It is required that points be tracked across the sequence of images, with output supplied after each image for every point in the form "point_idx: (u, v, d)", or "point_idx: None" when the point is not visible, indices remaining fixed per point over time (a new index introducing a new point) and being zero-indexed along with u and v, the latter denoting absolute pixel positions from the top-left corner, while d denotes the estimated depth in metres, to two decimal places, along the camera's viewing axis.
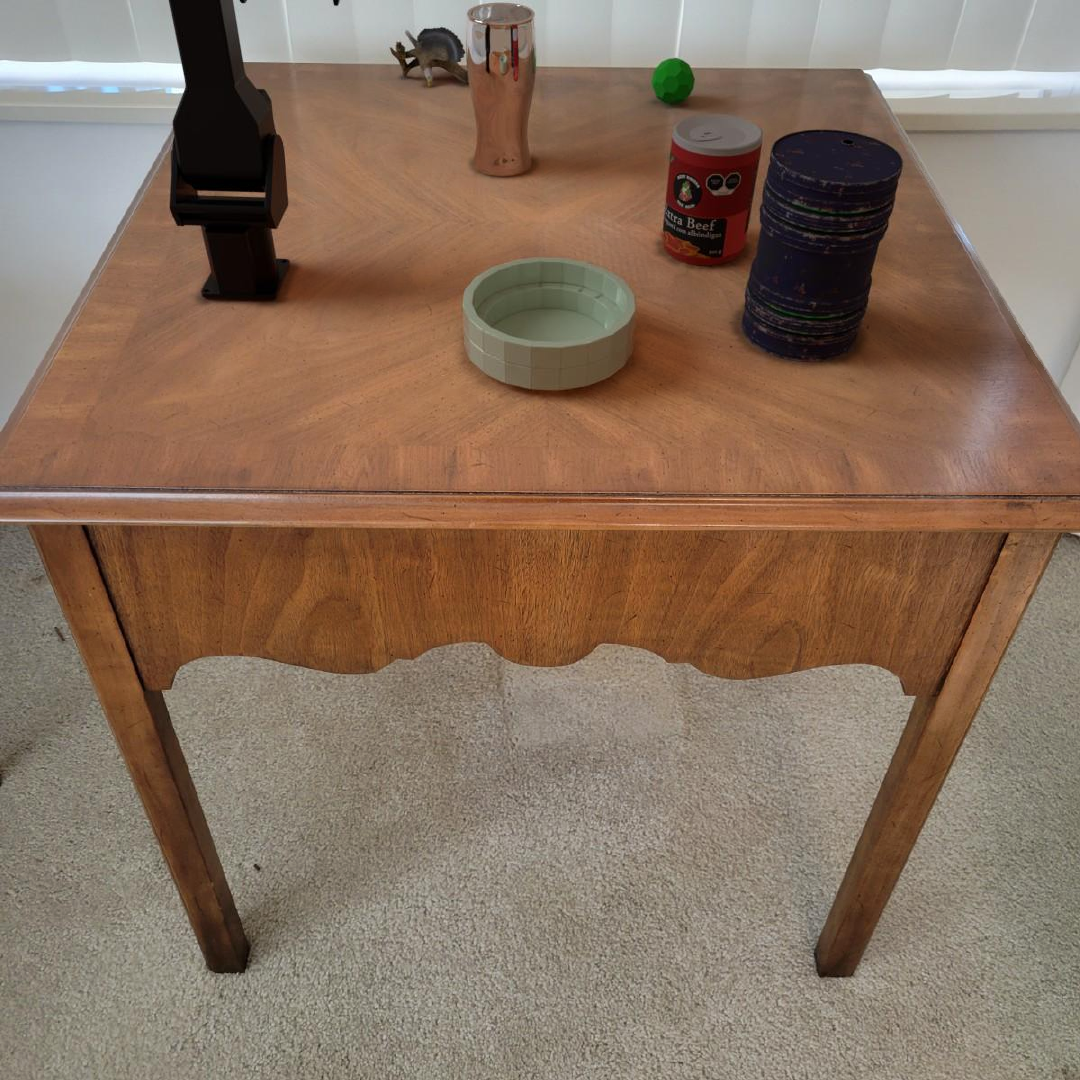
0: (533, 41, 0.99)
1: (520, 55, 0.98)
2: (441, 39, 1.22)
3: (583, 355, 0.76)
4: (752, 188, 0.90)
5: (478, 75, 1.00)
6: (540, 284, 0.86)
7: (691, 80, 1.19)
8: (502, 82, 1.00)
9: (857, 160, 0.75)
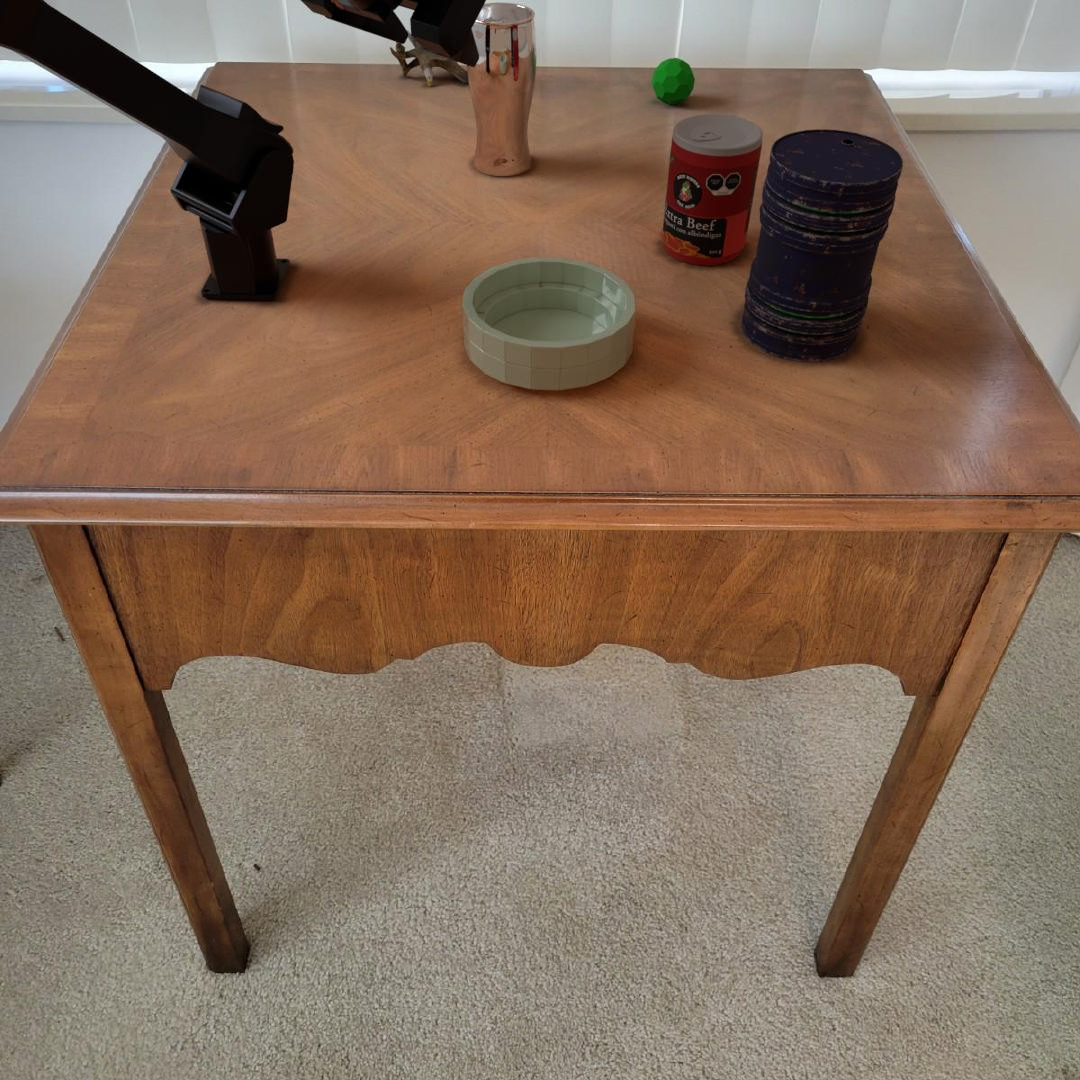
0: (533, 41, 0.99)
1: (520, 55, 0.98)
2: None
3: (583, 355, 0.76)
4: (752, 188, 0.90)
5: (478, 75, 1.00)
6: (540, 284, 0.86)
7: (691, 80, 1.19)
8: (502, 82, 1.00)
9: (857, 160, 0.75)
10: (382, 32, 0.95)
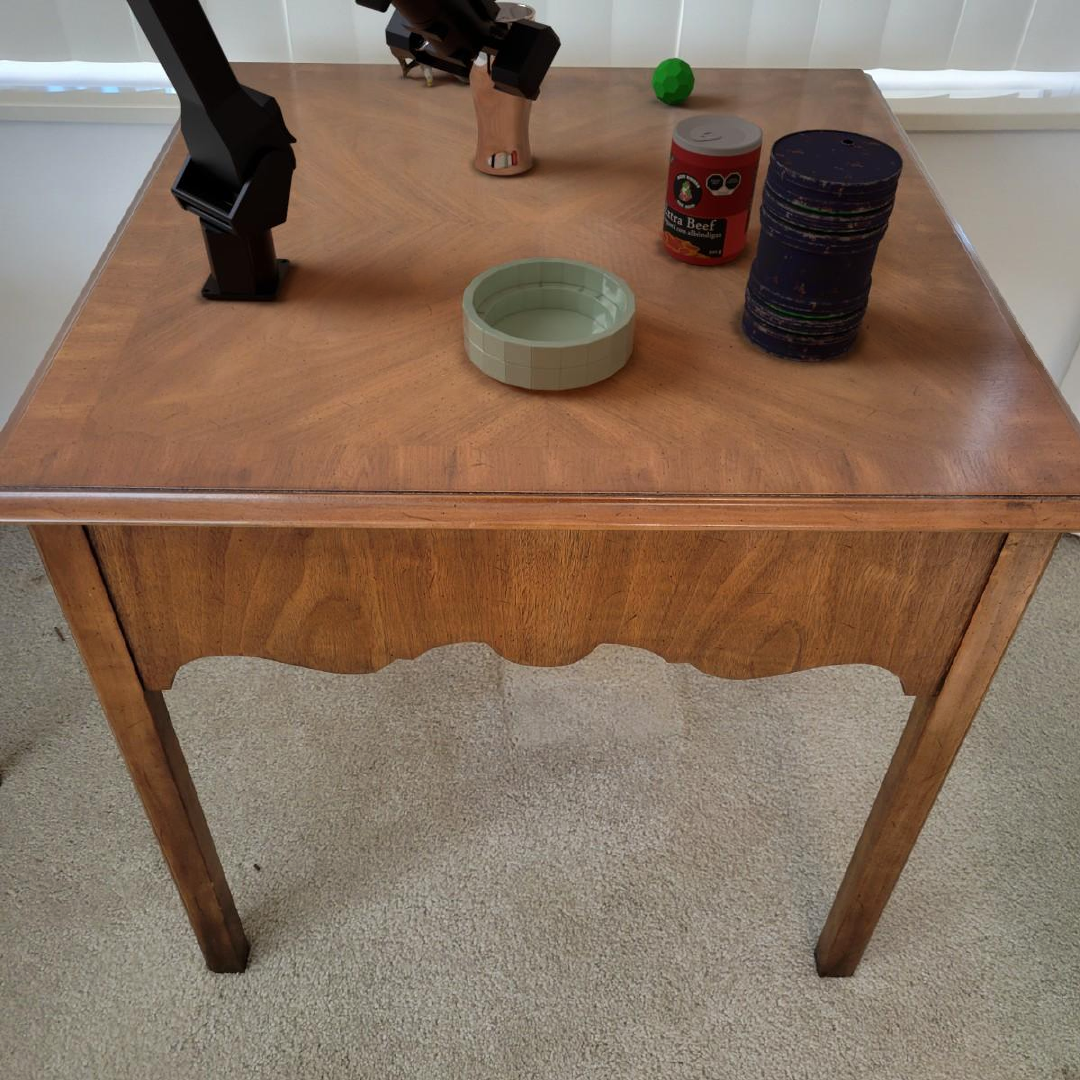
0: None
1: None
2: None
3: (583, 355, 0.76)
4: (752, 188, 0.90)
5: (479, 73, 1.00)
6: (540, 284, 0.86)
7: (691, 80, 1.19)
8: None
9: (857, 160, 0.75)
10: (466, 74, 1.03)
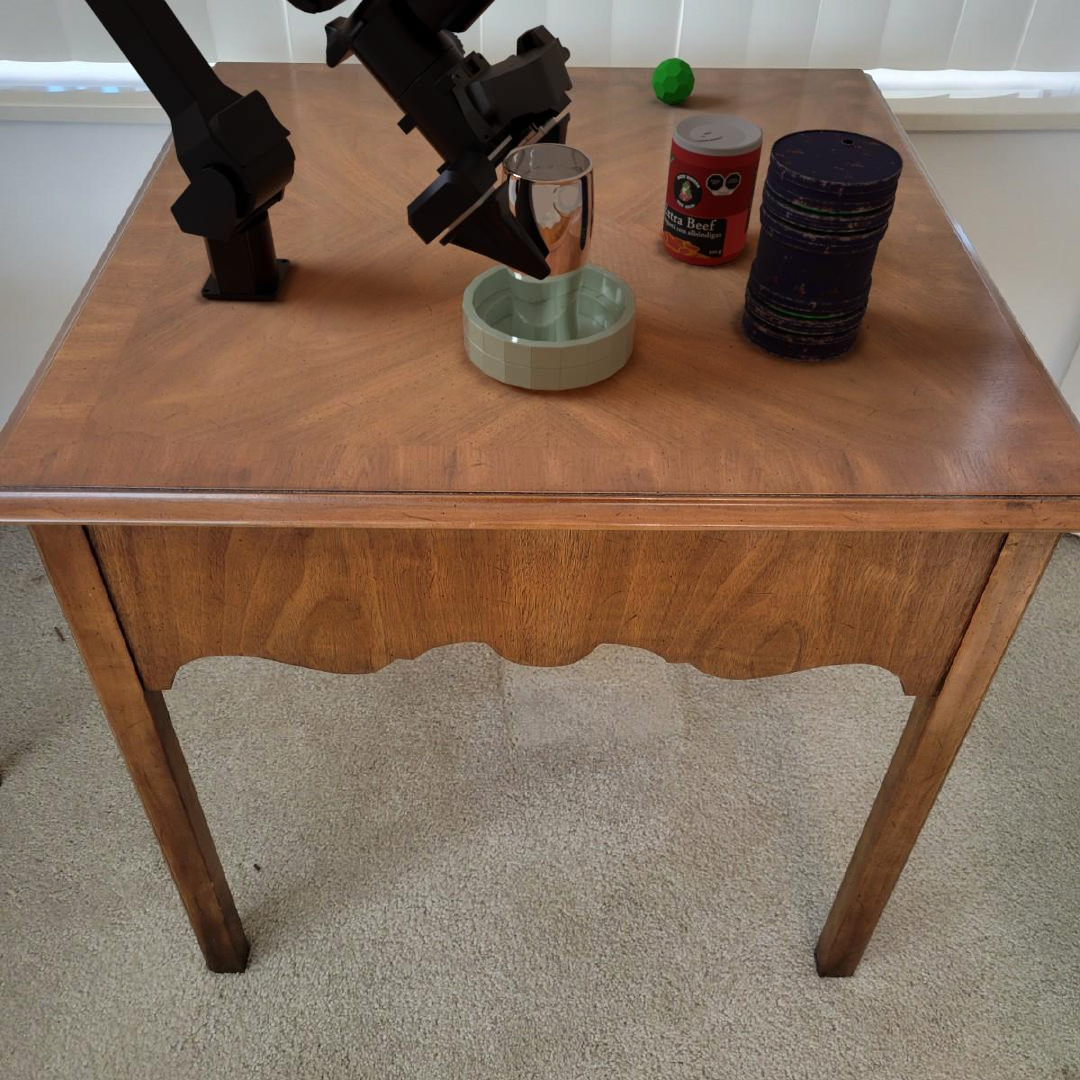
0: (547, 212, 0.72)
1: (519, 218, 0.72)
2: None
3: (583, 355, 0.76)
4: (752, 188, 0.90)
5: None
6: None
7: (691, 80, 1.19)
8: None
9: (857, 160, 0.75)
10: None
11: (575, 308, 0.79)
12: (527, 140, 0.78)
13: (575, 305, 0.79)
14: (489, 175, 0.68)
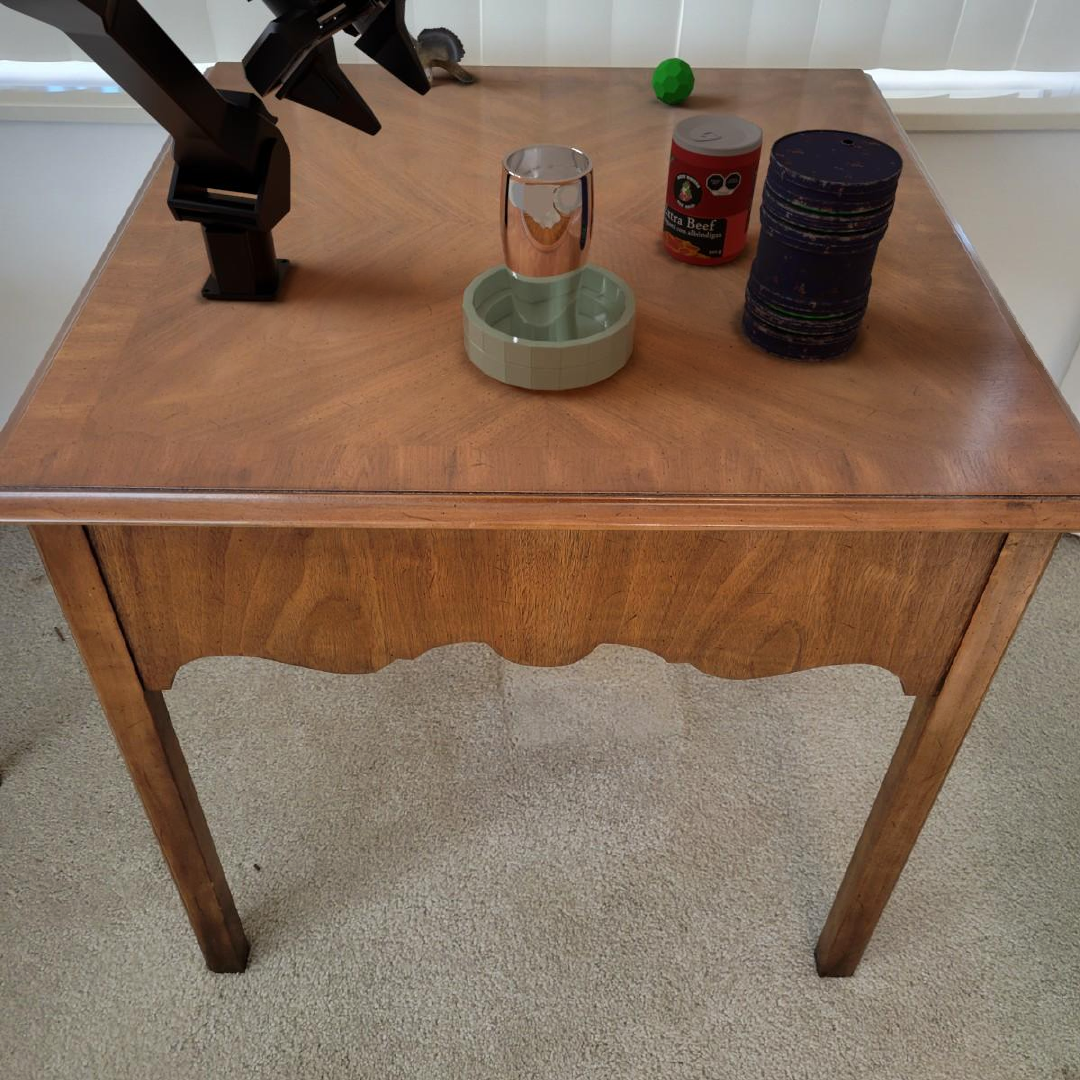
0: (547, 212, 0.72)
1: (519, 218, 0.72)
2: (441, 39, 1.22)
3: (583, 355, 0.76)
4: (752, 188, 0.90)
5: None
6: None
7: (691, 80, 1.19)
8: (503, 238, 0.75)
9: (857, 160, 0.75)
10: (395, 72, 0.87)
11: (575, 308, 0.79)
12: (369, 15, 0.85)
13: (575, 305, 0.79)
14: (312, 29, 0.75)
